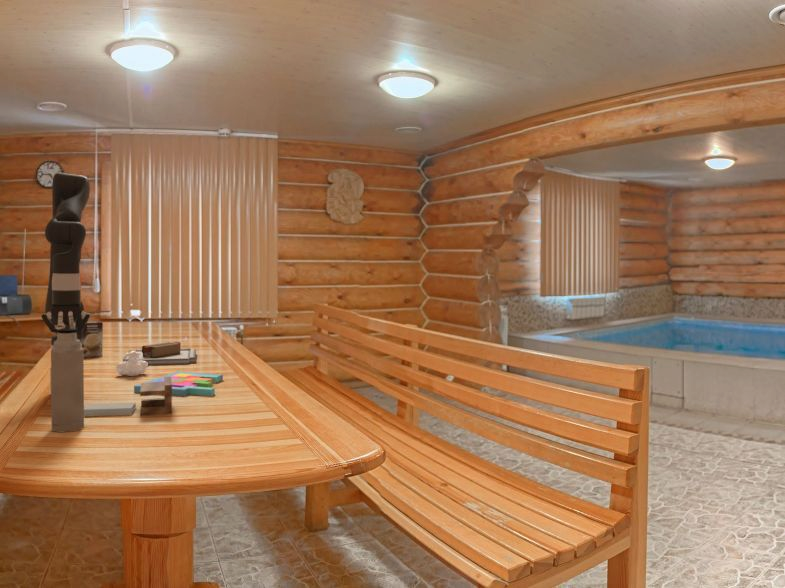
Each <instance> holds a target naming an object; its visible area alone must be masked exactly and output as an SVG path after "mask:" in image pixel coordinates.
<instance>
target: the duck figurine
mask: <svg viewBox="0 0 785 588" xmlns="http://www.w3.org/2000/svg"><path fill="white" fill-rule="evenodd" d="M140 354H141V352H136V351H131V352H130V353H128V352H125V353H124V355H125V356H126V355H128V357H129V358H128V359H129V360H128V361H127V362H123V361H121V362H118V363H117V364H116V366H115V367H116V368H115V370H116V372H117V375H119V376H128V377H135V376H139V375H141V374H144V373H145V372H146V370H147V368H148V366H149V365H148V363H147V362H146V361H141V360H139V361H138V360H137V358H138V359H139V355H140Z"/></svg>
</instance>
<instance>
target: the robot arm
mask: <svg viewBox="0 0 785 588" xmlns="http://www.w3.org/2000/svg"><path fill="white" fill-rule="evenodd" d="M51 186H52V187H51V189H52V190H51V196H52V197H51V198H52V202H51V203H52V204H51V205H52V206H51V207H52V218H51V219H50V220H49V221H48V223H47V225H46V226H45V229H44V237H45V239H46V241H47V242H48V243H49V244H50V248H49V249H50V250H49V251H50V252H49V259H50V260H49V275H48V276H49V278H48V285H47V293H46V299H45V307H44V308H45V309H44V312H45V313H42V314H41V319H42V321H43V322H44V323H45V325H46V326H47V327H48V329H49V331H50V332H51V333H54V335H52V336H51V339H50V344H51V345H50V351H51V350H52V349H54V346H53V345H54V341H56V340H57V335H58V332H57V330H59V329H77V332H76V334H77V339H78V340H80V341H82V336H83V328H84V326H85V324H86V323H87V322H89V319H90V318H91V316H92V315H91V313H88V312H86V311H85V308H84V307H85V306H84V304H83V301H82V300H81V288H82V285H81V278H80V263H81V259H82V248H83V245H84V243H85V238H86V235H87V231H86V226H85V225H84V224H83V223H82V222H81V221H82V214H83V211H84V209H85V207H86V205H87V203H88V200H89V199H90V198H89V197H90V194H91V193H90V192H91V191H90V190H91V184H90V180H89V178H88V177H87V176H85V175H81V174H73V173H72V174H71V173H65V172H56V173H55V174H54V175H53V178H52V184H51ZM56 326H57V327H56ZM81 348H82V342H81ZM49 369H50V373H49V374H50V375H49V376H50V386H51V367H50V368H49Z"/></svg>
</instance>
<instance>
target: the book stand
mask: <svg viewBox="0 0 785 588" xmlns="http://www.w3.org/2000/svg"><path fill="white" fill-rule="evenodd" d="M131 351H136V352H141V354H140V355H139V359H138V358H137V360H138V361H139V360H141V361H146V362H147V363H148V366H173V365H175V366H177V365H179V366H180V365H190V364H196V360H197V359H196V358H197V356H196V355H197V348H191V347H189V348H185V347H184V348H181V342H179V341H174V342H161V343H153V344H147V345H142V347H141V349H140V348H139V349H134V350H132V349H131V350H128V352H127V353H130V352H131ZM128 358H129V357H128V355H126V354H125V356H124V357H123V359H122V362H127V361H128V360H129V359H128Z"/></svg>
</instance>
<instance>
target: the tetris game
mask: <svg viewBox="0 0 785 588" xmlns="http://www.w3.org/2000/svg"><path fill="white" fill-rule="evenodd" d="M164 377H171V382H172V396H175V397H176V396H177V397H186V396H189V395H188V394H191V395H192V396H203V397H204V396H205V397H212V396H214V395H216V394H215V393H216V389H215V387H213V384H217V383H216V382H218V383H219V381H220V382H222V381H221V380H223V379H224V378H223V377H224V375H223V374H220V373H219V374H218V373H217V374H216V373H207V372H206V373H205V372H193V371H192V372H191V371H190V372H189V371H175V372H171V373H169V374H165V375H163V376H160V377H157V378H154V379H151V380H148V381H144V382H143V383H149V382H164ZM223 381H224V380H223ZM133 388H134V389H133V393H137V394H138V393H139V394H140V390H141V383H139V384H136V385H133ZM191 395H190V396H191Z"/></svg>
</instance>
